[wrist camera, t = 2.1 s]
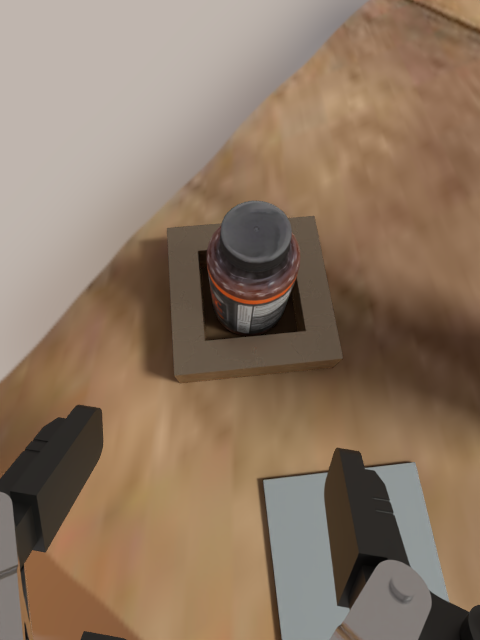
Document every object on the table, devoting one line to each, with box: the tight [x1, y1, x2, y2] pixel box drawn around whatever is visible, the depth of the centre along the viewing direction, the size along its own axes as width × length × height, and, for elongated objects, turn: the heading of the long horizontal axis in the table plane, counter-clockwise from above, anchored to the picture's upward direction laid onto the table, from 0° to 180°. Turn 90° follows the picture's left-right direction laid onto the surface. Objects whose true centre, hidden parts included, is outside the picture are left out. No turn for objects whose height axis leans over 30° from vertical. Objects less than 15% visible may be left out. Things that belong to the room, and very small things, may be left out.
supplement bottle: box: [207, 201, 300, 336], centre depth 26 cm, size 6×6×11 cm
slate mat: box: [263, 462, 449, 640], centre depth 25 cm, size 11×11×1 cm
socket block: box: [167, 216, 343, 383], centre depth 30 cm, size 12×12×3 cm
